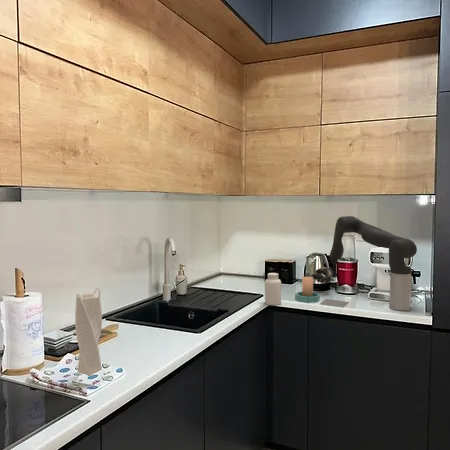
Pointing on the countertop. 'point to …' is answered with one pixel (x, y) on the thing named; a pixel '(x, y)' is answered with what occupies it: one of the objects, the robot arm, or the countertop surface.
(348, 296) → the countertop surface
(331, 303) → the mat
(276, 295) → the pill bottle
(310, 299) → the bowl
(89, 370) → the skyscraper
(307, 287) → the canister
